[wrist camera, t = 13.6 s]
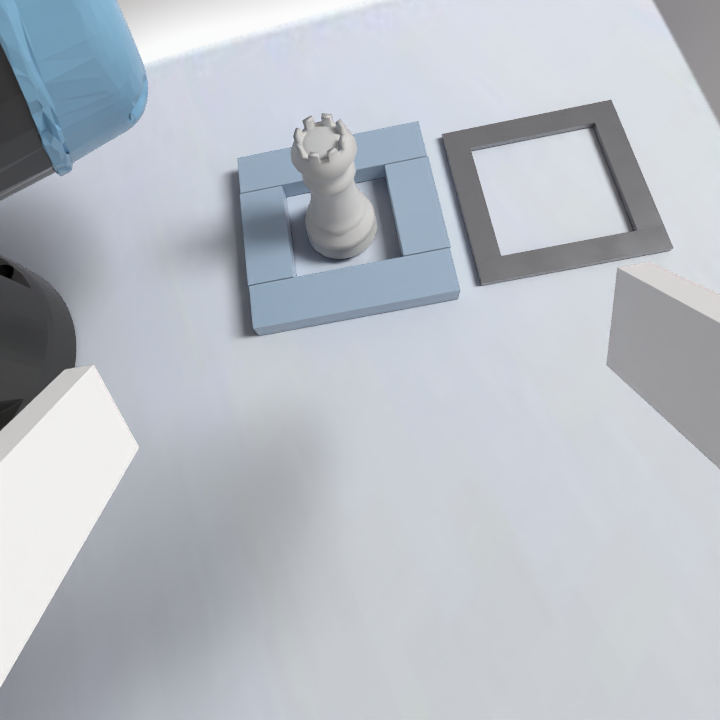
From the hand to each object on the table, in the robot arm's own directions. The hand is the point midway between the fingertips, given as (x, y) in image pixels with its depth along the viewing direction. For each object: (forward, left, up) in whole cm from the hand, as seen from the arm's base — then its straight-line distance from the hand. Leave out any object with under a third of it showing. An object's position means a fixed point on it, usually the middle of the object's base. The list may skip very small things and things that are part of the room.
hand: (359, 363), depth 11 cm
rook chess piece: (0, +13, -14) cm, 19 cm away
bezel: (+13, +13, -14) cm, 23 cm away
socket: (0, +13, -14) cm, 19 cm away
